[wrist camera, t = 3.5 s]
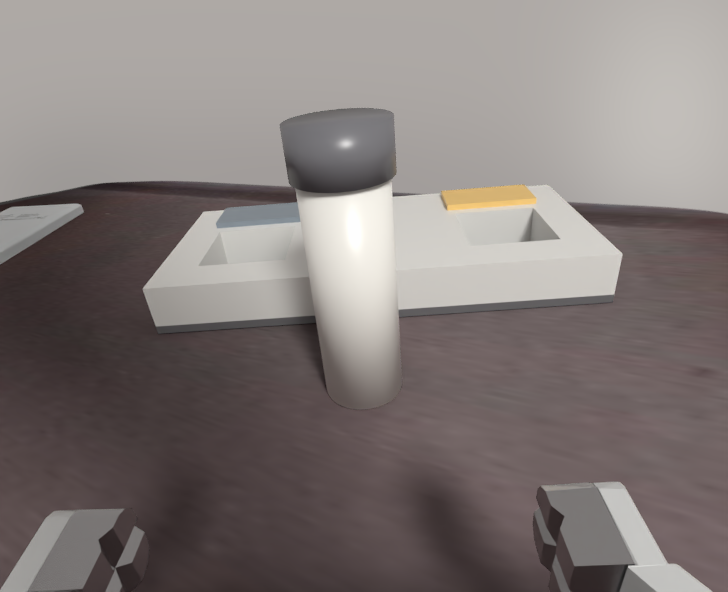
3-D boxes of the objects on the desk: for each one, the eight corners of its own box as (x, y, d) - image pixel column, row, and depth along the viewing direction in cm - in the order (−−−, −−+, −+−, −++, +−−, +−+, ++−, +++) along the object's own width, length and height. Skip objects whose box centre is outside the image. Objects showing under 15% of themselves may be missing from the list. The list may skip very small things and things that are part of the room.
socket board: (158, 333, 28) (139, 282, 27) (213, 247, 39) (202, 206, 37) (612, 302, 27) (624, 246, 26) (543, 222, 38) (548, 179, 36)
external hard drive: (-92, 278, 40) (13, 220, 51) (-2, 274, 39) (86, 216, 50) (-104, 260, 39) (6, 205, 50) (-12, 256, 38) (80, 201, 49)
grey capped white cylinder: (319, 415, 21) (271, 136, 15) (325, 359, 25) (287, 113, 19) (409, 410, 21) (397, 125, 15) (403, 354, 25) (390, 104, 19)
